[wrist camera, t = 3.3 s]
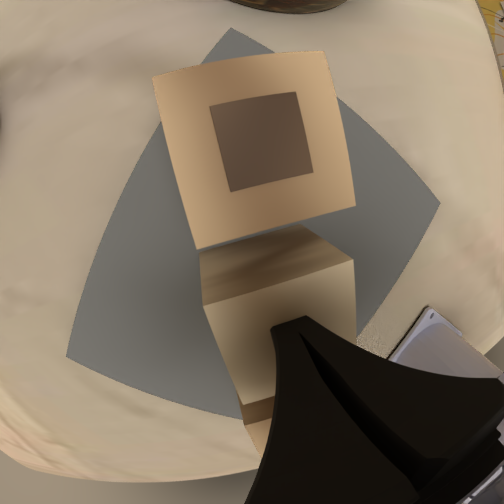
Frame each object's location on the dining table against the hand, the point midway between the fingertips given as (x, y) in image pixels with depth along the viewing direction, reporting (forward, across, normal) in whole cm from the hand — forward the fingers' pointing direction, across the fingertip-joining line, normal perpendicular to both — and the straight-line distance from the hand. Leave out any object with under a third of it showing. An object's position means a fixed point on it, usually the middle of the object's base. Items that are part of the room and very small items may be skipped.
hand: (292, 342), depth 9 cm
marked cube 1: (+5, 0, -7) cm, 8 cm away
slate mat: (+6, 0, 0) cm, 6 cm away
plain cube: (+5, 0, 0) cm, 5 cm away
